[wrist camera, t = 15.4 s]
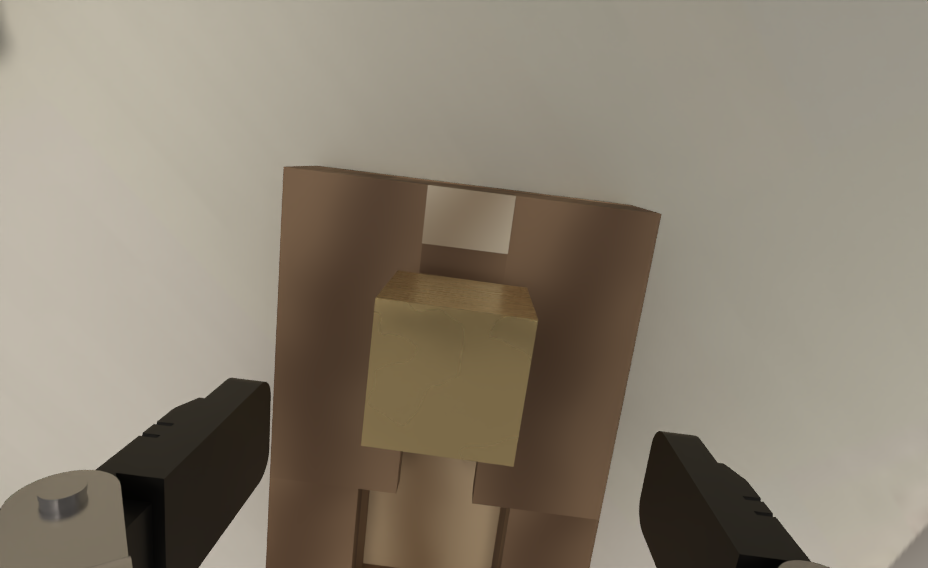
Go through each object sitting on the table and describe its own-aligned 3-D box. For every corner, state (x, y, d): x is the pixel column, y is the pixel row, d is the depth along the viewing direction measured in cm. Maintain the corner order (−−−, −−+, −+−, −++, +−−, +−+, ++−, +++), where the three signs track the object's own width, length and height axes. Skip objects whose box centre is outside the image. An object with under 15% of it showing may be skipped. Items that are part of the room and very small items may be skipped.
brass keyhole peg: (522, 253, 22) (547, 313, 13) (506, 355, 23) (520, 474, 14) (414, 238, 22) (368, 288, 13) (403, 340, 23) (352, 451, 14)
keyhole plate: (631, 205, 22) (663, 214, 18) (557, 593, 26) (570, 668, 22) (317, 165, 22) (281, 167, 18) (294, 559, 26) (261, 628, 22)
